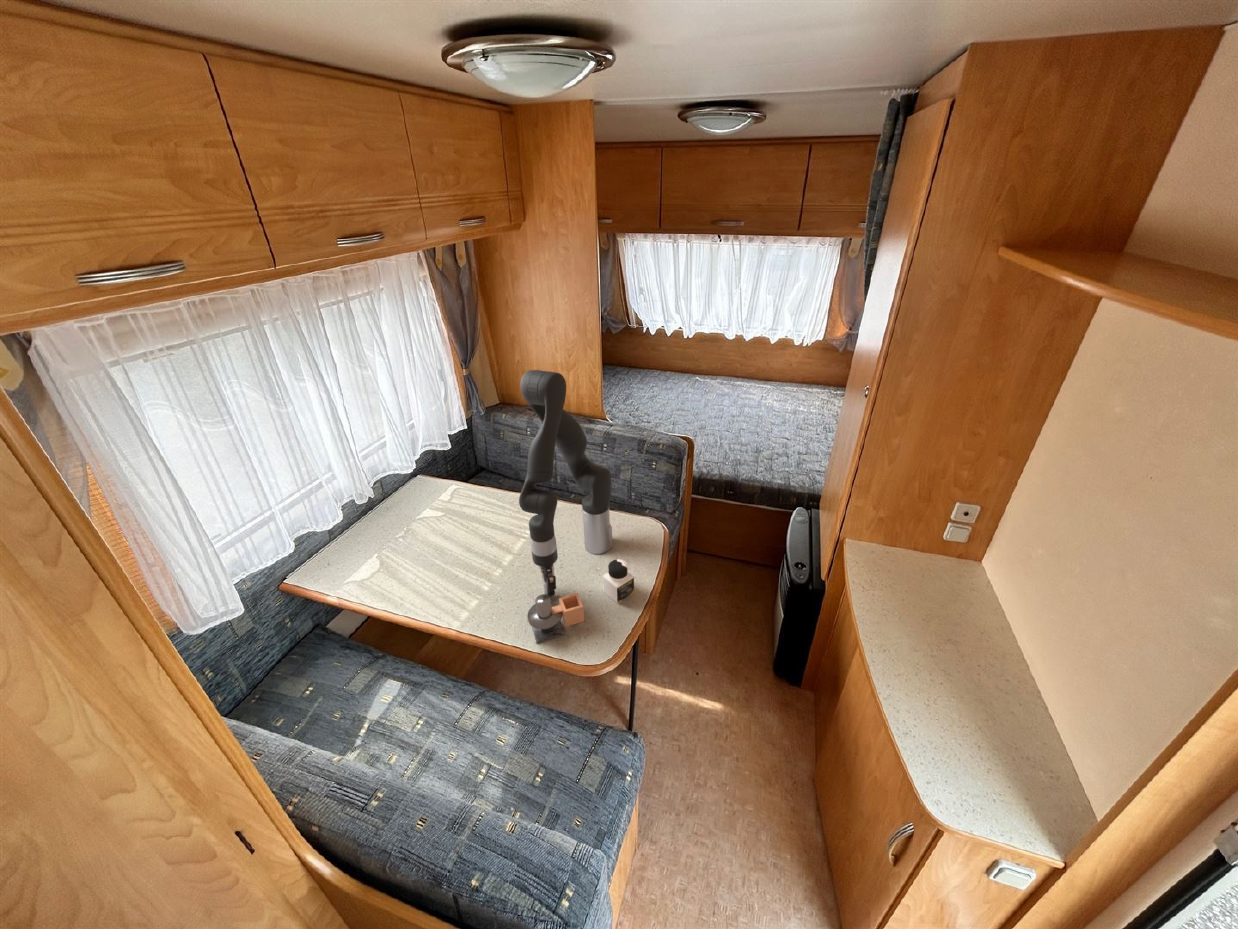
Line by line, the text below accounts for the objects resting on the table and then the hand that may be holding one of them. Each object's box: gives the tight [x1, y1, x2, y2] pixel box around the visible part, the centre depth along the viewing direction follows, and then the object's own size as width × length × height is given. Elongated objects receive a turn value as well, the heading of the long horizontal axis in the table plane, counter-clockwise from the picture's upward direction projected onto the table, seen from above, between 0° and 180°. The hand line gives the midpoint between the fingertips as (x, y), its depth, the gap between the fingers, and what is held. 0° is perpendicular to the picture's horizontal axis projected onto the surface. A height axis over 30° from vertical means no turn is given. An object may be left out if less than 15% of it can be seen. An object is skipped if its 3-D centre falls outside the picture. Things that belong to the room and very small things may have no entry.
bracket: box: [552, 592, 585, 627], centre depth 151 cm, size 9×6×6 cm, turn 111°
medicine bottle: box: [602, 558, 635, 604], centre depth 161 cm, size 7×7×12 cm
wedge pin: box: [541, 574, 556, 601], centre depth 160 cm, size 3×3×11 cm
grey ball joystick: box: [527, 593, 564, 644], centre depth 149 cm, size 10×10×12 cm
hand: (548, 588), depth 161 cm, fingers open, 5 cm apart
